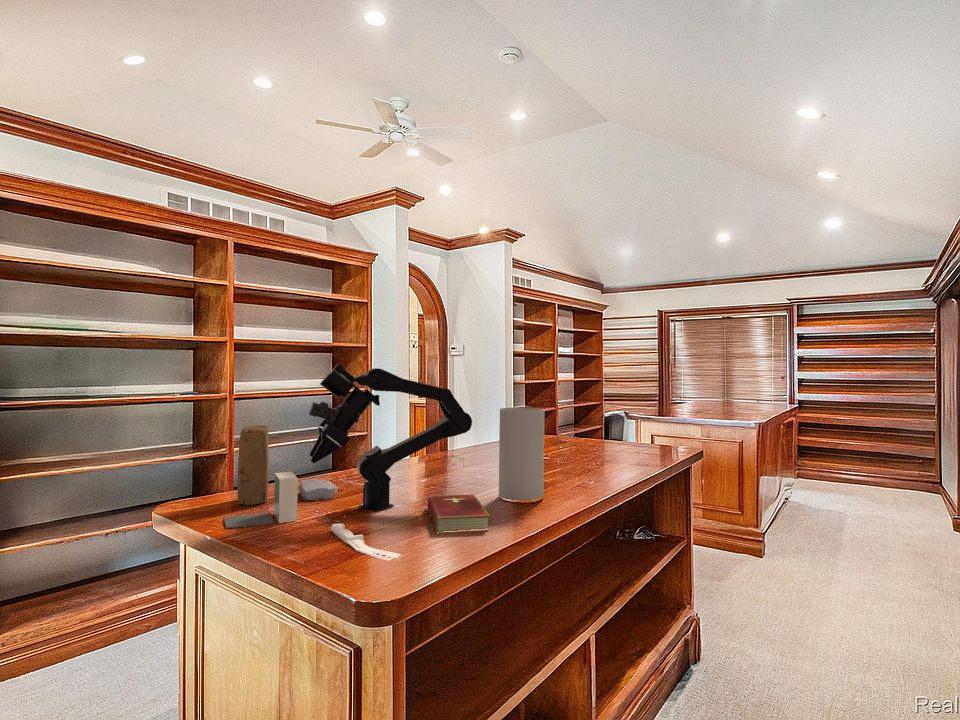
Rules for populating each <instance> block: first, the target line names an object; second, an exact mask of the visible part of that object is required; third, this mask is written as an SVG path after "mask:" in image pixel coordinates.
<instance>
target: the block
mask: <svg viewBox="0 0 960 720" xmlns="http://www.w3.org/2000/svg"><path fill="white" fill-rule="evenodd" d="M239 433H240V435H239V443H238V456H237V457H238V459H237V460H238V462H237V502H238V504H240V505H242V506H245V505H246V506H256V505H255V504H258V505H261V504H260V503H262V504H266V503H267V502H268V499H269V459H270V458H269V451H270V450H269V448H270V447H269V428H268V426H267V425H247V426H244V427H243V428H241V430H240V432H239ZM266 501H267V502H266Z"/></svg>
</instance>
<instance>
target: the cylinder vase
mask: <svg viewBox="0 0 960 720" xmlns="http://www.w3.org/2000/svg"><path fill="white" fill-rule="evenodd" d="M498 442H499V445H498V447H499V448H498V497H499V496H500V497H502V498H505V499H511V500H532V499H537V498H541V497H543V498H544V496H545V495H544V492H545V491H544V486H545V485H544V484H545V482H544V481H545V480H544V479H545V477H544V476H545V475H544V474H545V473H544V472H545V409H544V408H537V407H501V408H499V440H498ZM543 495H544V496H543ZM500 497H499V498H500Z"/></svg>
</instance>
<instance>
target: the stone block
mask: <svg viewBox="0 0 960 720" xmlns="http://www.w3.org/2000/svg"><path fill="white" fill-rule="evenodd" d="M337 492H338V486H336V485H335V484H334V483H333V482H332V481H329V480H326V479H319V478H308V479H307V478H306V479H303V480H301V481H300V482H299V494H300V493H301V494H300V496H301V498H302V497H303V498H302V499H303V501H306V500H307V501H306V502H309V501H308V500H315V501H320V500H319V499H326V500H331V499H333V497H334V496H335V494H336V493H337Z"/></svg>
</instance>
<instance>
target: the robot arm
mask: <svg viewBox="0 0 960 720" xmlns="http://www.w3.org/2000/svg"><path fill="white" fill-rule="evenodd" d="M355 384H356V385H355ZM319 385H320V386H321V387H323V388H324V389H325V390H327V391H328V392H329V393H331V395H333V396H334V397H336V399H337V398H339V397H340V396H341V397H342V398H345V397H346V396H347V397H346V398H345V399H344V401H343V402H342V403H341V404H339V405H337V406H335V408H334V407H331V406H329V403H328V402H324V401H321V402H320V403H318V402H314V401H313V402H312V405H311V408H309V409H310V410H309V412H308V414H309V416H312V417H318V418H320V419H322V420H321V421H320V423H319V424H318V425H319V426H318V437H317V439H316V441H315V443H314V445H313V447H312V448H311V450H310V453H309V456H310V457H311V459H310V461H311V463H312V464H315V463H317V462H319V461H321V460H322V459H325V457H327V456H330V455H331V454H333V453H335V452H337V451H338V450H341V449H342V448H344V447H345V446H346V445H347V444H348V443H349V441H350V440H349V439H350V437H349V432H350V430H351V429H352V428H353V426H354V425H355V424H357V423H358V422H359V421H360V418H361V416H362V415H363V414H364V413H365V411H366V410H367V409H368V408H369V406H370V405H371V404H374V405H376V406H379V407H380V404H381V403H380V395H379V394H373V393H372V392H371V391H376V392H392V393H393V392H396V393H397V392H398V393H403V394H407V395H413V396H416V397H420V398H425V399H429V400H434V401H436V402H437V403H438V405H439V407H440V410H441V413H442V414H443V415H444V416H442V417H441V418H440V419H439V420H438V421H437V422H436V423H435V424H434V425H432V426H430V427H427V428H426V429H424V430H422V431H420V432H418V433H416V434H414V435H412V436H410V437H408V438H406V439H404V440H402V441H400V442H398V443H396V444H393V445H392V446H390V447H388V448H384V449H381V447H379V446H378V445H376V446H374V447H373V448H371V449H369V450H367V451H363V452H362V453H363V455H362V454H361V456H359V457H358V459H357V461H356V469H357V471H358V473H359V475H360V476H361V477H362V478H363V479H364V480H365V482H364V483H363V489H362V504H359V505H358V508H360V509H364V510H369V511H374V512H379V511H382V510H385V509H389V508H392V507H394V504H393V503H390V490H391V489H390V488H391V487H390V482H391V480H392V478H391V476H390V475H389V474H388V473H387V471H389V469H391V468H392V466H393V465H395V464H396V463H397V462H399V461H402V460H403V459H405V458H407V457H410V456H411V455H413V454H415V453H417V452H419V451H421V450H422V449H425V448H427V447H428V446H431V445H434V444H435V443H436V442H439V441H441V440H443V439H447V438H451V437H456V436H459V435H463V434H467V432H469V431H470V430H471V428H472V425H473V420H472V416H471V415H470V414H469V413H468V412H465V411H464V409H463V407H462V406H461V404H460V403H459V402H458V400H457V399H456V398H455V396H454V395H453V393H452V391H451V390H450V388H447V387H439V386H436V385H431V384H428V383H427V384H426V383H423V382H420V381H419V382H418V381H415V380H414V381H413V380H410V379H406V378H403V377H400V376H398V375H396V374H394V373H392V372H389V371H387V370H386V369H382V368H370V369H369V370H367V371H366V372H365V373H364V374H361V375H356V376H353V375H352V374H351V373H349V372H348V371H347V370H346V369H344V367H343V366H342V365H340V364H339V363H338V364H336V365H335V367H334V368H333V369H332V370H330V372H328V373H327V374H326V375H325V376H324V378H323V379H322V380H321V382H320V383H319ZM358 386H365V387H366V388H365V389H363V390H362V389H360V388H359V387H358ZM368 389H369V390H368ZM370 390H371V391H370ZM350 391H351V392H350ZM348 393H349V394H348Z"/></svg>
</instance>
